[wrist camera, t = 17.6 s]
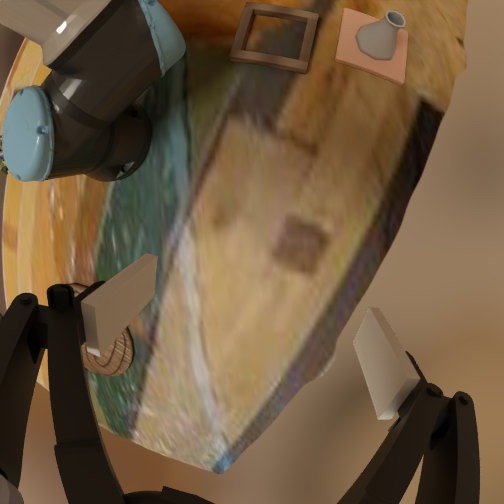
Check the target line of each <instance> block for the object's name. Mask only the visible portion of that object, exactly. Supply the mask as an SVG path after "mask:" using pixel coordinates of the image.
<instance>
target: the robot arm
mask: <svg viewBox="0 0 504 504" xmlns="http://www.w3.org/2000/svg"><path fill="white" fill-rule="evenodd" d="M0 23H1V24H2V25H5V26H6V27H8V28H10V29H12V30H14V31H16V32H17V33H19V34H21V35H23V36H25V37H26V38H28V39H30V40H32V41H33V42H35V43H37V44H39V45H40V46H41V47H42V52H43V64H44V65H45V66H47V67H49V68H50V69H52V71H51V72H50V74H49V75H48V76H47V78H46V79H45V80H44V82H43V83H42V84H41V86H37V85H32V86H28V87H26V88H25V89H22V90H21V91H19V92H18V93H17V95H16V96H15V97H14V99H13V100H12V102H11V104H10V106H9V108H8V111H7V113H6V117H5V120H4V125H3V132H2V149H3V156H4V160H5V163H6V166H7V168H8V170H9V171H10V173H11V174H12V175H13V176H14V177H15V178H16V179H18V180H20V181H25V182H27V181H38V182H42V181H44V180H48V179H54V178H60V177H67V176H74V175H81V174H84V175H87V176H89V177H91V178H93V179H95V180H98V181H103V182H111V181H117V180H121V179H124V178H126V177H128V176H129V175H131V174H132V173H133V172H134V171H135V170H136V169H137V168H138V167H139V166H140V165H141V163H142V162H143V160H144V158H145V156H146V154H147V152H148V149H149V145H150V139H151V127H150V122H149V119H148V116H147V114H146V113H145V111H144V110H143V108H142V107H141V106H140V105H138V104H137V103H135V102H133V101H134V100H135V99H136V98H137V97H138V96H140V95H141V94H142V93H143V92H144V91H145V90H146V89H147V88H148V87H149V86H150V85H151V84H153V83H154V82H155V81H156V80H157V79H158V78H159V77H163V76H164V75H165V72H166V71H167V70H168V69H169V68H170V67H172V66H173V65H174V64H175V63H176V62H177V61H178V60H180V59H181V58H182V56H183V55H184V53H185V49H186V45H185V41H184V38H183V36H182V34H181V32H180V31H179V29H178V27H177V25H176V24H175V22H174V21H173V19H172V18H171V16H170V15H169V14H168V12H167V11H166V10H165V8H164V7H163V6H162V5H161V4H160V3H158V0H0ZM156 267H157V256H155V255H151V254H148V253H146V254H144V255H143V256H142V257H140V258H139V259H137V260H136V261H135V262H133V263H132V264H130V265H129V266H128V267H126V268H125V269H123V270H122V271H121V272H119V273H118V274H117V275H115V276H114V277H112V278H111V279H110V280H108V281H107V282H105V281H99V282H96V283H94V284H92V285H91V286H90V287H88V288H87V289H85V290H84V292H81V293H80V294H79V295H77V296H76V297H75V296H74V289H73V287H71V286H70V285H67V284H55V285H52V286H50V287H49V288H48V289H47V299H48V305H49V306H44V305H39V304H38V299H37V296H36V295H34V294H32V293H22V294H20V295H18V296H16V298H15V299H14V300H13V302H12V303H11V305H10V306H9V308H8V310H7V311H6V313H5V315H4V316H3V318H2V320H1V322H0V504H24V501H23V498H22V495H21V493H20V492H19V491H18V487H19V482H20V477H21V468H22V458H23V448H24V439H25V433H26V426H27V421H28V415H29V410H30V405H31V400H32V396H33V392H34V387H35V383H36V380H37V376H38V372H39V369H40V365H41V362H42V358H43V355H44V352H45V349H48V376H49V390H50V400H51V409H52V416H53V423H54V429H55V435H56V441H57V445H55V447H54V450H55V456H56V461H57V465H58V469H59V473H60V476H61V480H62V484H63V487H64V490H65V494H66V497H67V500H68V503H69V504H214V503H212V502H210V501H207V500H205V499H203V498H201V497H199V496H197V495H193V494H190V493H186V492H182V491H179V490H175V489H172V488H169V487H166V486H163V489H162V492H160V491H138V492H132V493H128V494H124V492H123V490H122V488H121V486H120V484H119V481H118V479H117V477H116V474H115V472H114V469H113V467H112V464H111V462H110V459H109V456H108V453H107V451H106V448H105V445H104V442H103V439H102V436H101V432H100V429H99V426H98V422H97V419H96V415H95V412H94V408H93V404H92V400H91V395H90V391H89V387H88V382H87V377H86V372H85V366H84V361H83V355H82V349H81V346H82V345H83V344H84V343H85V342H86V347H87V351H88V352H90V353H92V354H94V355H96V356H99V357H101V356H102V355H103V353H104V352H105V351H106V350H107V349H108V348H109V346H110V345H111V344H112V343H113V342H114V341H115V339H116V338H117V337H118V336H119V335H120V334H121V333H122V331H123V330H124V329H125V328H126V327H127V326H128V325H129V323H130V322H131V321H132V320H133V319H134V318H135V317H136V316H137V314H138V313H139V312H140V311H141V310H142V309H143V308H144V307H145V306H146V304H147V303H148V302H149V301H150V300H151V299H152V298H153V297H154V291H155V278H156ZM353 345H354V348H355V351H356V353H357V356H358V359H359V362H360V365H361V368H362V371H363V374H364V377H365V379H366V383H367V385H368V389H369V392H370V395H371V398H372V401H373V404H374V408H375V410H376V414H377V418H378V419H391V418H392V417H393V416H394V415H395V413H396V412H397V411H398V414H399V418H398V419H397V420H396V422H395V423H394V424H393V425H392V426H391V427H390V429H389V430H388V431H389V433H388V435H387V437H386V438H385V440H384V441H383V443H382V444H381V446H380V447H379V449H378V451H377V452H376V454H375V455H374V457H373V458H372V459H371V461H370V462H369V464H368V465H367V467H366V468H365V469H364V471H363V472H362V473H361V475H360V476H359V477H358V478H357V480H356V481H355V482H354V484H353V485H352V486H351V487H350V489H349V490H348V491H347V492H346V493H345V495H344V496H343V497H342V498H341V499H340V500H339V502H338V503H337V504H399V502H400V501H401V499H402V497H403V495H404V493H405V492H406V490H407V488H408V486H409V484H410V482H411V480H412V478H413V476H414V474H415V472H416V469H417V467H418V465H419V463H420V461H421V459H422V456H423V454H424V458H423V465H422V471H421V476H420V482H419V487H418V493H417V497H416V501H415V504H479V494H480V459H479V444H478V432H477V424H476V416H475V410H474V404H473V400H472V398H471V397H470V395H468V394H467V393H464V392H461V391H459V392H456V393H455V395H454V396H453V398H449V397H445V396H443V392H442V390H441V389H440V388H439V387H437V386H436V385H434V384H432V383H427V381H426V379H425V377H424V375H423V374H422V372H421V370H420V369H419V367H418V365H417V364H416V361H415V360H414V358H413V356H411V355H410V354H409V353H408V352H407V351H405V350H404V349H403V347H402V345H401V344H400V342H399V340H398V338H397V337H396V335H395V333H394V332H393V330H392V328H391V327H390V325H389V324H388V322H387V320H386V319H385V317H384V315H383V314H382V312H381V311H380V309H378V308H373V307H369V308H368V310H367V312H366V315H365V317H364V319H363V322H362V324H361V326H360V328H359V330H358V333H357V335H356V337H355V339H354V341H353Z"/></svg>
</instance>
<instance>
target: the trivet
mask: <svg viewBox="0 0 504 504" xmlns="http://www.w3.org/2000/svg"><path fill="white" fill-rule="evenodd" d="M67 285H70V286H71V287H73V289H74V296H75V297H76V296H77V295H79V294H80V293H81V292H84V290H85V289H87V288H88V287H87V286H84V285H81V284H77V283H73V284H67ZM81 349H82V355H83V361H84V366H85V367H86V368H88V369H89V370H91V371H93V372H95V373H98V374H101V375H106V376H115V375H120V374H121V373H123V372H125V371H126V370H127V368H128V367H129V365H130V363H131V362H132V360H133V354H134V348H133V341H132V337H131V335H130V332H129V330H128V327H126V328H125V329H124V330H123V331H122V333H121V334H120V335H119V336H118V337H117V338H116V339H115V341H114V342H113V343H112V344H111V345H110V346H109V348H108V349H107V350H106V351H105V352H104V353H103V355H102V356H101V357H99V356H96V355H94V354H92V353H90V352H88V351H87V347H86V342H85V343H84V344H83V345H82V346H81Z"/></svg>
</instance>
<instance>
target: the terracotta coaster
mask: <svg viewBox="0 0 504 504" xmlns="http://www.w3.org/2000/svg"><path fill="white" fill-rule="evenodd" d="M379 20H380V19H377V18H374V17H372V16H369V15H366V14H363V13H360V12H357V11H354V10H351V9H348V8H345V7H344V10H343V14H342V20H341V26H340V32H339V37H338V43H337V48H336V54H335V59H334V61H336V62H339V63H342V64H346V65H349V66H352V67H355V68H358V69H360V70H363V71H366V72H369V73H372V74H374V75H377V76H379V77H382V78H384V79H387V80H389V81H392V82H394V83H396V84H399V85H403V84H404V78H405V69H406V58H407V44H408V31H405V30H403V29H401V28H400V29H399V30H398V32H397V38H396V50H395V52H394V54H393V56H392V58H391V60H375V59H373V58H372V57H370V56H368V55H367V54H365V53H363V52H362V51H360V50H359V47H358V44H357V41H356V38H355V36H356V34H357V32H358V30H359V29H360V27H361V26H363V25H367V24H370V23H373V22H376V21H379Z"/></svg>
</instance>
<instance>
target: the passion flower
mask: <svg viewBox="0 0 504 504" xmlns="http://www.w3.org/2000/svg"><path fill="white" fill-rule="evenodd" d="M0 164H1V165H2V167H1V166H0V171H2V170H3V172H4V173H5V174H7V175H8V173H7V170H8V168H7V166H6V163H5V160H4V156H3V149H2V134H1V135H0ZM5 167H6V168H5Z"/></svg>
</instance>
